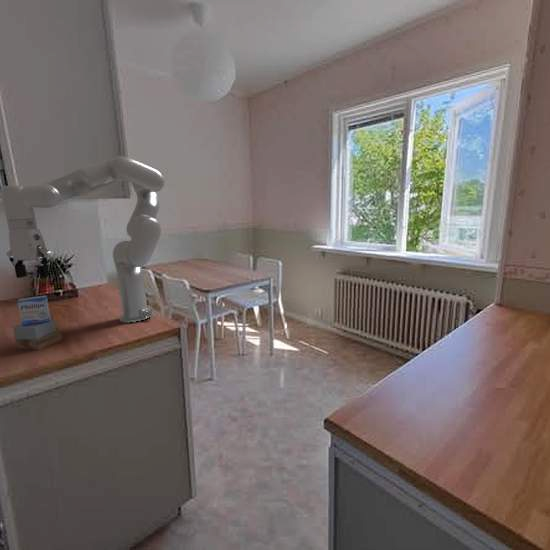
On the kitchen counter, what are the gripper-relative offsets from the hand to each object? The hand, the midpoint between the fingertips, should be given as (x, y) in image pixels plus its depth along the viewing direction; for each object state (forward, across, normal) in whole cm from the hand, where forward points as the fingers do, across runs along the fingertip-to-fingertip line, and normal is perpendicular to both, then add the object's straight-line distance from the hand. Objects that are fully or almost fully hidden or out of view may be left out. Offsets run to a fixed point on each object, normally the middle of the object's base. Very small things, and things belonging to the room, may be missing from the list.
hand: (33, 277), depth 114 cm
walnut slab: (+23, 0, +2) cm, 23 cm away
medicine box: (+16, +1, +2) cm, 16 cm away
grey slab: (+19, +1, +3) cm, 20 cm away
